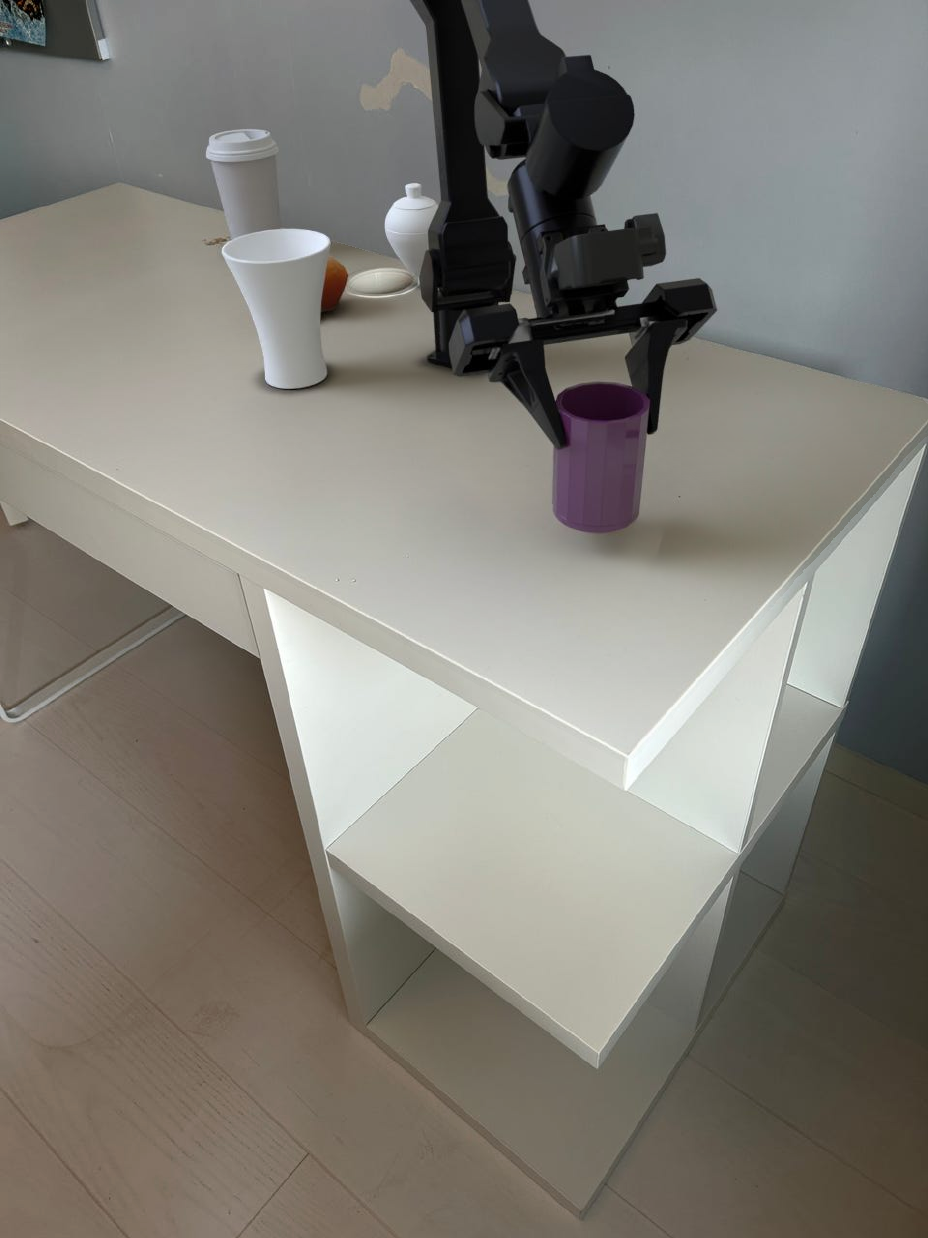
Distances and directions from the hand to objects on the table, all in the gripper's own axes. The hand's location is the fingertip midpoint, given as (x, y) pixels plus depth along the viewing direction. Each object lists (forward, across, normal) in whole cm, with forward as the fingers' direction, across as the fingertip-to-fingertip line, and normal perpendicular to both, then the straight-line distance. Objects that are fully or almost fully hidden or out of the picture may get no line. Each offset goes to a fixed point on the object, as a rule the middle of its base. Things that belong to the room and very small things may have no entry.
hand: (607, 440), depth 68 cm
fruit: (-34, -13, +48) cm, 61 cm away
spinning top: (-37, 0, +51) cm, 63 cm away
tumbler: (+4, 0, +6) cm, 7 cm away
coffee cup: (-52, -18, +66) cm, 86 cm away
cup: (-21, -18, +35) cm, 45 cm away
